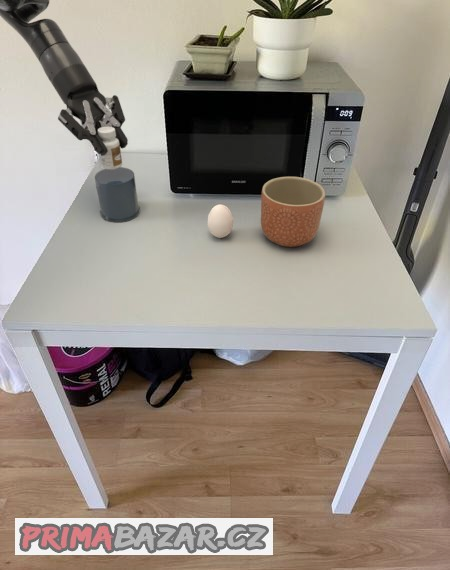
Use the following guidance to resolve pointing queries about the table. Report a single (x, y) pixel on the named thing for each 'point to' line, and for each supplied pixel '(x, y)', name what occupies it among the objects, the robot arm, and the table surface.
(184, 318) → the table surface
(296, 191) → the planter
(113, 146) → the pill bottle
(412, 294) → the table surface
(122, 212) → the cup
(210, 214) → the egg
